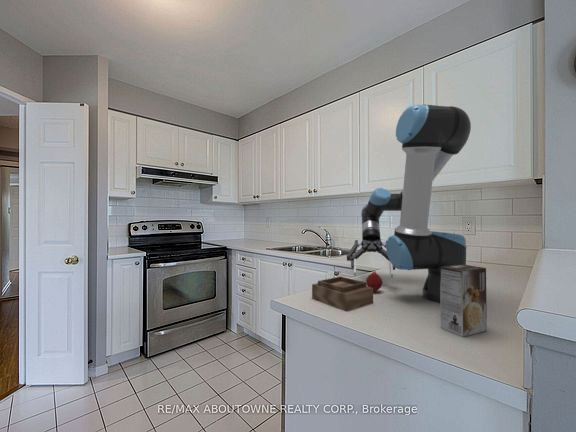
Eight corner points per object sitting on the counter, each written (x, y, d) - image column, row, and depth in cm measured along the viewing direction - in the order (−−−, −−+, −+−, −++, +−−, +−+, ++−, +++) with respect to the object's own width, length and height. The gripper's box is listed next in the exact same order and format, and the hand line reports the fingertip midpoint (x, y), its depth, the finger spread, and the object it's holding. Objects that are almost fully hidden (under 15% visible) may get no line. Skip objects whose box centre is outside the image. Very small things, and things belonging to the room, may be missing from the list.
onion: (383, 294, 102) (383, 272, 102) (367, 293, 103) (367, 272, 103) (381, 290, 108) (381, 269, 108) (365, 289, 109) (365, 269, 109)
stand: (373, 303, 92) (373, 283, 92) (346, 311, 84) (346, 289, 84) (337, 292, 105) (337, 275, 105) (312, 298, 97) (312, 280, 97)
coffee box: (462, 322, 75) (462, 263, 75) (487, 331, 70) (487, 267, 69) (439, 327, 72) (439, 266, 72) (463, 337, 66) (463, 270, 66)
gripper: (400, 239, 120) (407, 282, 105) (342, 238, 126) (340, 278, 111) (402, 227, 115) (409, 271, 100) (341, 227, 120) (339, 268, 106)
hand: (373, 275), depth 106 cm, fingers open, 13 cm apart
